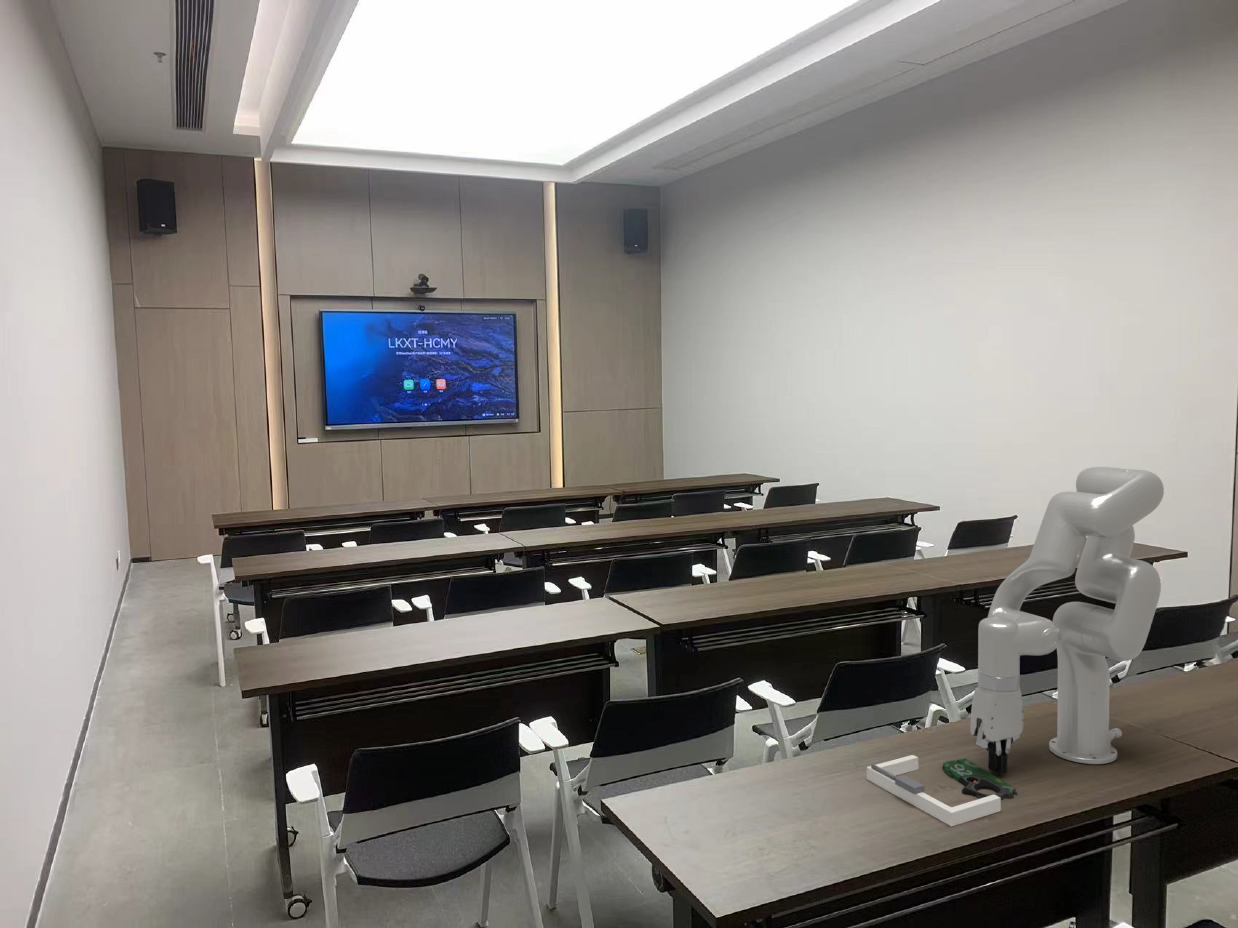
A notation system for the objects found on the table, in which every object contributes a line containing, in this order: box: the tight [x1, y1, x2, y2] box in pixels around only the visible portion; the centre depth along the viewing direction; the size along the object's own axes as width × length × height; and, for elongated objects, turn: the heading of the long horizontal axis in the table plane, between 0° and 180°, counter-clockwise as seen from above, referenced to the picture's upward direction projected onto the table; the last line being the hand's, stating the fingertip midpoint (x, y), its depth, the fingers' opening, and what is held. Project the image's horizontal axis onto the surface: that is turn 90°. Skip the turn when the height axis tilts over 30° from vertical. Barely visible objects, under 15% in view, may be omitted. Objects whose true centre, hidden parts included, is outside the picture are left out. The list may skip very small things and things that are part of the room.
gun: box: [942, 758, 1018, 801], centre depth 174 cm, size 16×1×10 cm
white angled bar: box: [866, 754, 1002, 827], centre depth 169 cm, size 12×22×4 cm, turn 25°
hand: (997, 771), depth 177 cm, fingers closed
